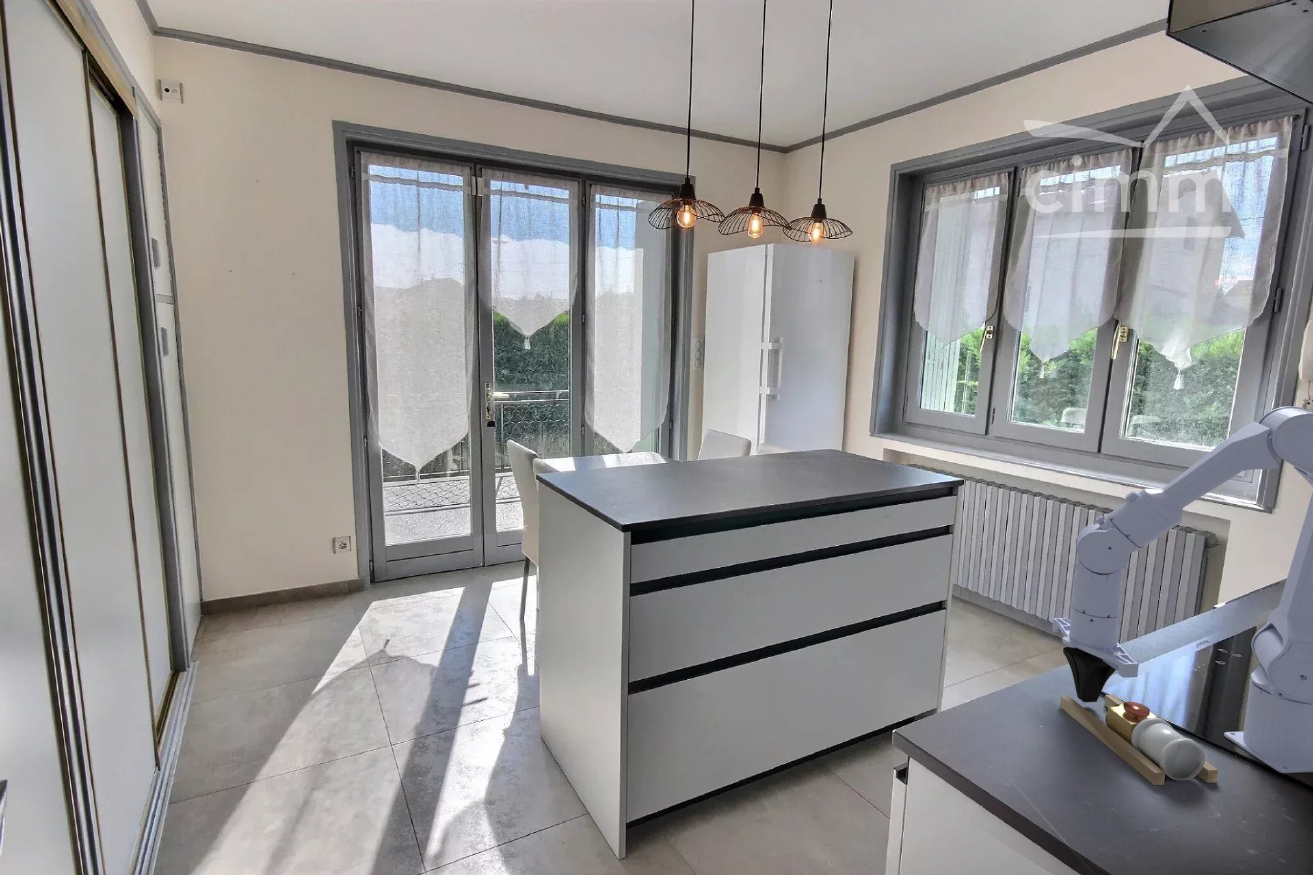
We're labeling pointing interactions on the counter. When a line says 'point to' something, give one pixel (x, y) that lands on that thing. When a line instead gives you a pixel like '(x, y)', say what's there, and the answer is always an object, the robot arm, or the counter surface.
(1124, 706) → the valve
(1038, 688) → the counter surface
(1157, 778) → the guide rails
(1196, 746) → the coupling
